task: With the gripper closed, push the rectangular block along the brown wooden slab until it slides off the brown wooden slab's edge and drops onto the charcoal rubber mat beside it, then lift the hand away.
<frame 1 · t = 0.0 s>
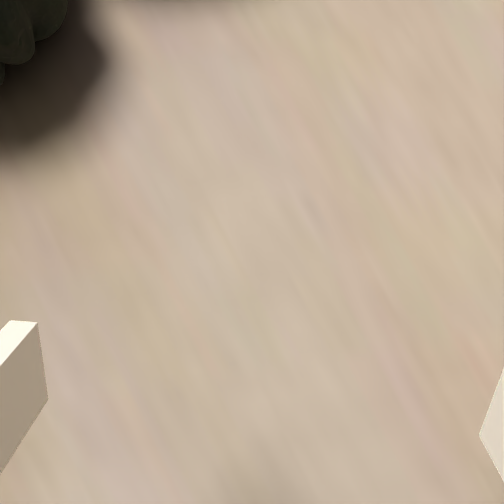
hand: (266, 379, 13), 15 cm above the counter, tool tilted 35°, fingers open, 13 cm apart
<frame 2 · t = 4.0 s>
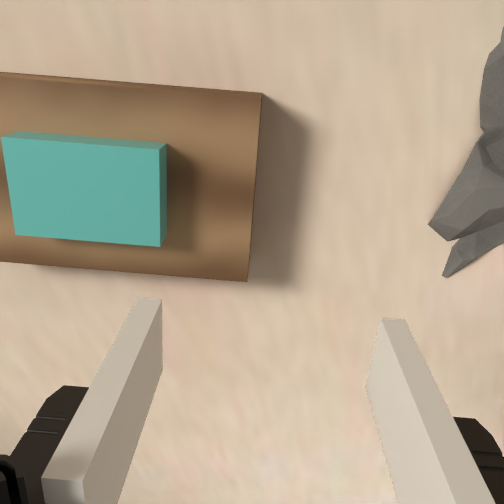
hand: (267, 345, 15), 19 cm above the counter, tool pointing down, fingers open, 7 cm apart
rectangular block: (95, 185, 29), point 3 cm above the counter, touching brown wooden slab
brown wooden slab: (120, 172, 32), on the counter
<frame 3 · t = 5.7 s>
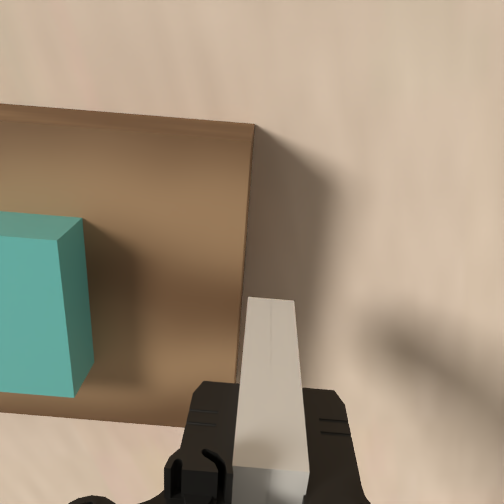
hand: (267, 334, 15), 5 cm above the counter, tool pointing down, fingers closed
brown wooden slab: (26, 248, 20), on the counter
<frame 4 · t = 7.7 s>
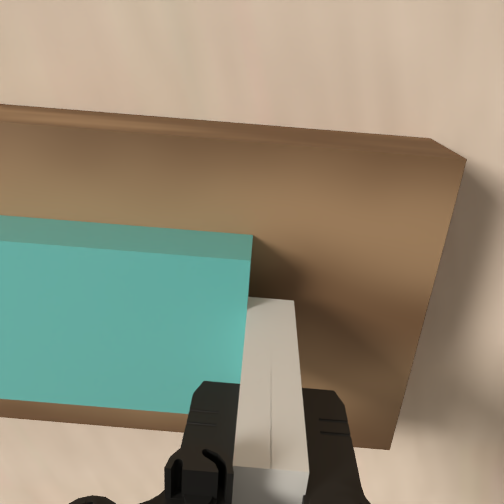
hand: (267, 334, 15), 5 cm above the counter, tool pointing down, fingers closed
rectangular block: (121, 302, 16), point 4 cm above the counter
brown wooden slab: (175, 262, 20), on the counter
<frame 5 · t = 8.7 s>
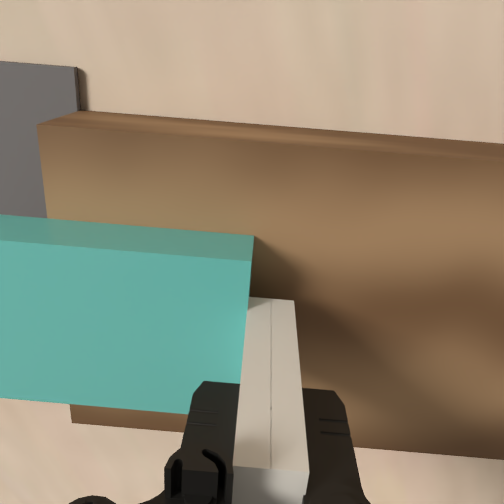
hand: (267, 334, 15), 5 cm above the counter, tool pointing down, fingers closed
rectangular block: (122, 302, 16), point 4 cm above the counter, touching brown wooden slab, gripper
brown wooden slab: (313, 273, 19), on the counter
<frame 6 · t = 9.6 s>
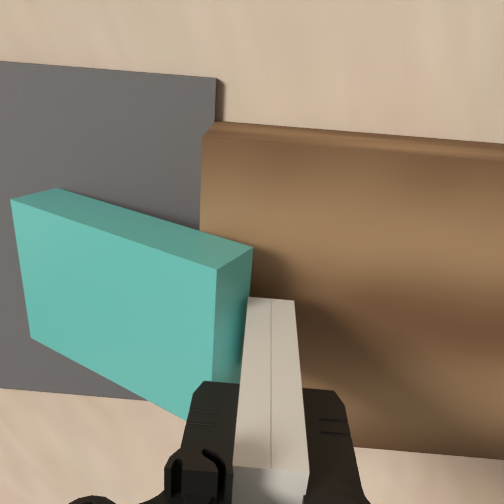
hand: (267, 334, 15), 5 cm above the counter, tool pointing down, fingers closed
rectangular block: (145, 288, 17), point 2 cm above the counter, tilted 28°, touching gripper
brown wooden slab: (432, 283, 19), on the counter
mat: (47, 251, 20), on the counter
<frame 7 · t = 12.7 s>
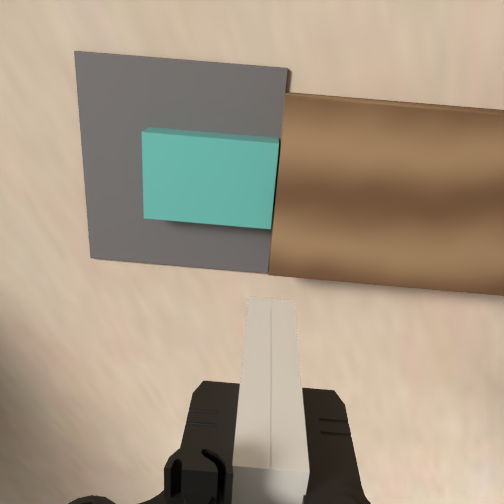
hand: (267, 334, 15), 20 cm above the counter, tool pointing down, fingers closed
rectangular block: (212, 175, 33), resting on mat
brown wooden slab: (408, 190, 33), on the counter
mat: (180, 171, 33), on the counter
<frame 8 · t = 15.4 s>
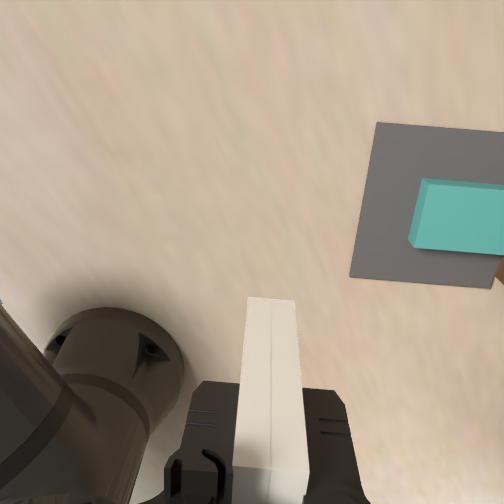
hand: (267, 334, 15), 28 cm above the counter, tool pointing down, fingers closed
rectangular block: (463, 213, 42), resting on mat
mat: (436, 210, 43), on the counter
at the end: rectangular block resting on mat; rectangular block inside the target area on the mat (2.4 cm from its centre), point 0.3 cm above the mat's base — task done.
